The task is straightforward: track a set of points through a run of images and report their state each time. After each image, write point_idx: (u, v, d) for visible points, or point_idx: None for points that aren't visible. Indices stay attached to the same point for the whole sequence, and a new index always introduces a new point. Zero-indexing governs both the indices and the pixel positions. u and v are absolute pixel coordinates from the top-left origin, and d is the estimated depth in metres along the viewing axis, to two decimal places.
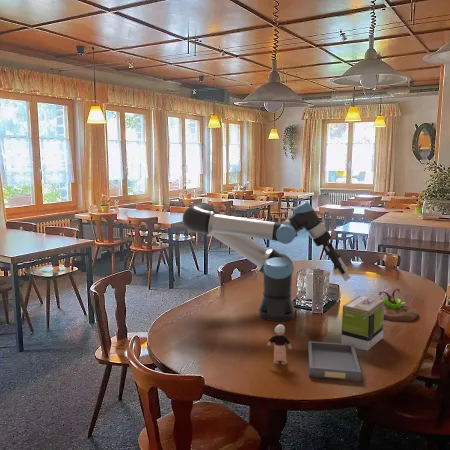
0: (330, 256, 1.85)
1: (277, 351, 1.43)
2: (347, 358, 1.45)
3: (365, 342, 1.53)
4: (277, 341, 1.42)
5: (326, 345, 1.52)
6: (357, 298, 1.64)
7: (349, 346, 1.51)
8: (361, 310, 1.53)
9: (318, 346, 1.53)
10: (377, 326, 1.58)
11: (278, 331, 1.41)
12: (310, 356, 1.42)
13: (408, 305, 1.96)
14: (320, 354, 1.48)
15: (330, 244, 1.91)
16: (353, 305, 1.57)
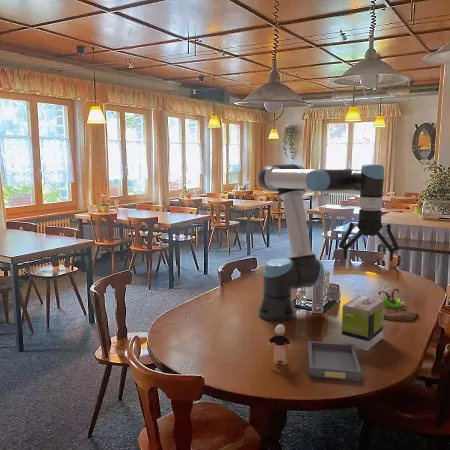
0: (345, 233, 1.58)
1: (277, 351, 1.43)
2: (347, 358, 1.45)
3: (365, 342, 1.53)
4: (277, 341, 1.42)
5: (326, 345, 1.52)
6: (357, 298, 1.64)
7: (349, 346, 1.51)
8: (361, 310, 1.53)
9: (318, 346, 1.53)
10: (377, 326, 1.58)
11: (278, 331, 1.41)
12: (310, 356, 1.42)
13: (408, 305, 1.96)
14: (320, 354, 1.48)
15: (365, 226, 1.55)
16: (353, 305, 1.57)
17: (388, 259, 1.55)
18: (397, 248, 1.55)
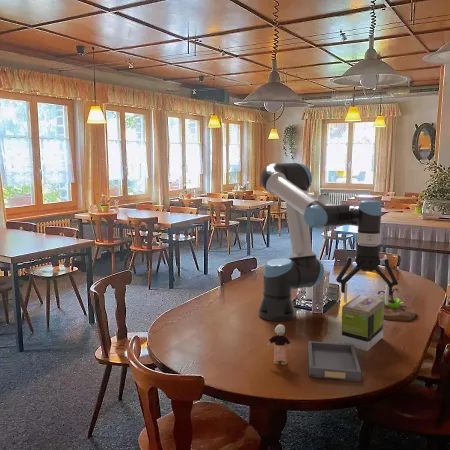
0: (343, 267, 1.60)
1: (277, 351, 1.43)
2: (347, 358, 1.45)
3: (365, 343, 1.53)
4: (277, 341, 1.42)
5: (326, 345, 1.52)
6: (356, 298, 1.64)
7: (349, 346, 1.51)
8: (360, 311, 1.53)
9: (318, 346, 1.53)
10: (376, 326, 1.58)
11: (278, 331, 1.41)
12: (310, 356, 1.42)
13: (408, 305, 1.95)
14: (320, 354, 1.48)
15: (363, 261, 1.56)
16: (353, 305, 1.56)
17: (387, 294, 1.56)
18: (396, 283, 1.55)
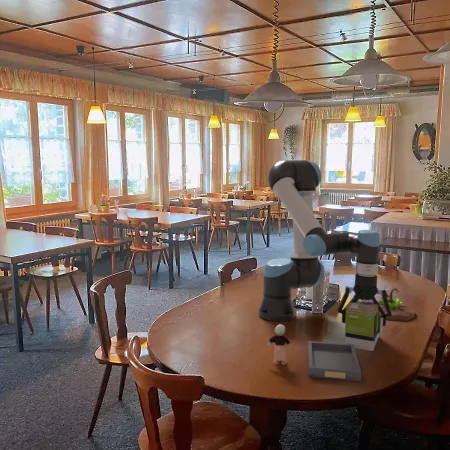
0: (342, 297, 1.61)
1: (277, 351, 1.43)
2: (347, 358, 1.45)
3: (371, 342, 1.53)
4: (277, 341, 1.42)
5: (326, 345, 1.52)
6: None
7: (349, 346, 1.51)
8: (366, 311, 1.52)
9: (318, 346, 1.53)
10: (377, 325, 1.59)
11: (278, 331, 1.41)
12: (310, 356, 1.42)
13: (408, 305, 1.95)
14: (320, 354, 1.48)
15: (361, 291, 1.58)
16: (356, 306, 1.56)
17: (381, 324, 1.59)
18: (390, 314, 1.58)
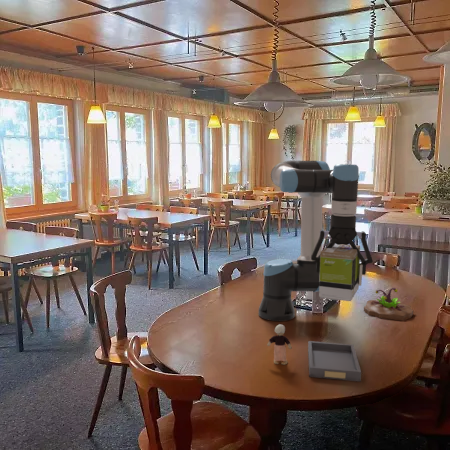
0: (317, 243, 1.41)
1: (277, 351, 1.43)
2: (347, 358, 1.45)
3: (348, 291, 1.33)
4: (277, 341, 1.42)
5: (326, 345, 1.52)
6: None
7: (349, 346, 1.51)
8: (343, 254, 1.32)
9: (318, 346, 1.53)
10: (356, 274, 1.38)
11: (278, 331, 1.41)
12: (310, 356, 1.42)
13: (408, 306, 1.95)
14: (320, 354, 1.48)
15: (337, 234, 1.37)
16: (332, 250, 1.35)
17: (360, 273, 1.38)
18: (370, 260, 1.37)
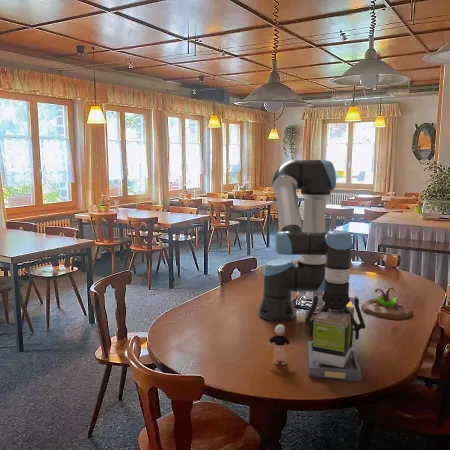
0: (310, 307, 1.42)
1: (277, 351, 1.43)
2: None
3: (341, 358, 1.34)
4: (277, 341, 1.42)
5: None
6: None
7: None
8: (336, 322, 1.33)
9: None
10: (350, 338, 1.40)
11: (278, 331, 1.41)
12: (310, 356, 1.42)
13: (407, 306, 1.95)
14: None
15: (331, 300, 1.39)
16: (325, 316, 1.36)
17: (353, 338, 1.40)
18: (363, 326, 1.39)
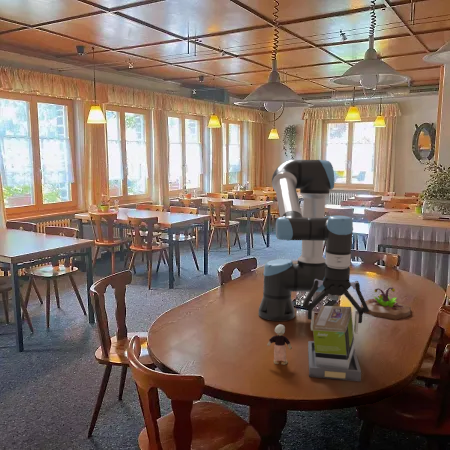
0: (310, 291, 1.42)
1: (277, 351, 1.43)
2: None
3: (344, 361, 1.35)
4: (277, 341, 1.42)
5: None
6: (322, 310, 1.44)
7: None
8: (335, 327, 1.33)
9: None
10: (350, 338, 1.40)
11: (278, 331, 1.41)
12: (310, 356, 1.42)
13: (407, 306, 1.94)
14: None
15: (331, 285, 1.38)
16: (324, 322, 1.36)
17: (357, 321, 1.39)
18: (367, 310, 1.38)
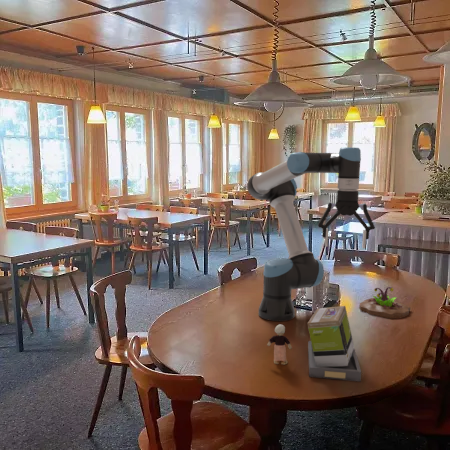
0: (324, 213, 1.67)
1: (277, 351, 1.43)
2: None
3: (343, 357, 1.35)
4: (277, 341, 1.42)
5: None
6: (317, 311, 1.47)
7: None
8: (329, 322, 1.35)
9: None
10: (347, 335, 1.41)
11: (278, 331, 1.41)
12: (310, 356, 1.42)
13: (406, 306, 1.94)
14: None
15: (343, 206, 1.63)
16: (318, 319, 1.38)
17: (364, 237, 1.64)
18: (373, 227, 1.63)
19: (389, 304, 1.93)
